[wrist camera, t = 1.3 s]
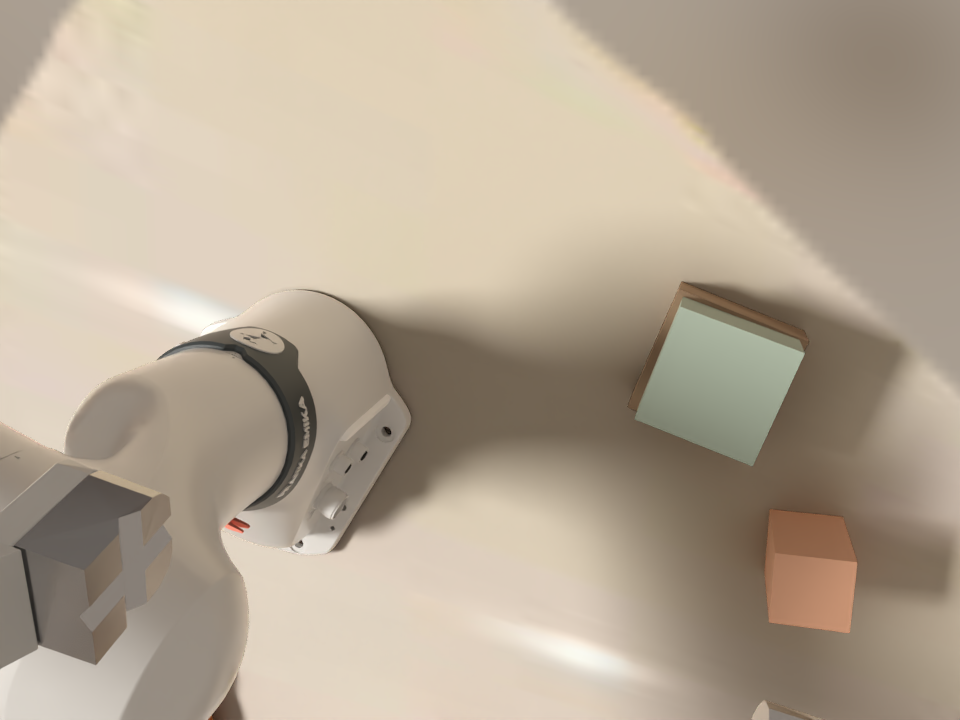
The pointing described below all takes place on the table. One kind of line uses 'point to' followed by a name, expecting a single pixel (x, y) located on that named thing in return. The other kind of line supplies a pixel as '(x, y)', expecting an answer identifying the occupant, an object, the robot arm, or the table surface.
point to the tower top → (719, 381)
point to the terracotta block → (809, 571)
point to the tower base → (716, 303)
